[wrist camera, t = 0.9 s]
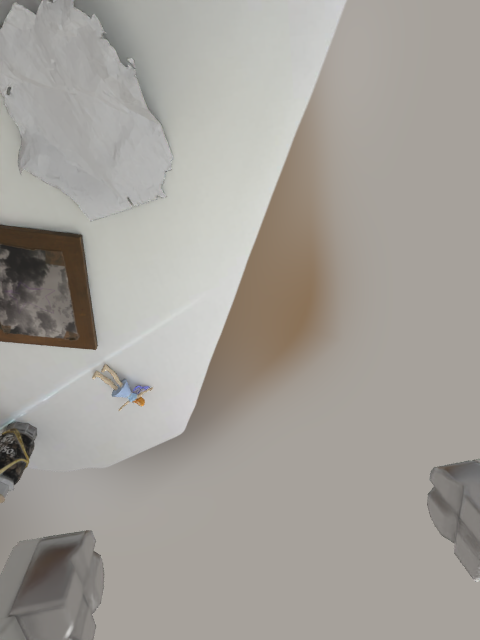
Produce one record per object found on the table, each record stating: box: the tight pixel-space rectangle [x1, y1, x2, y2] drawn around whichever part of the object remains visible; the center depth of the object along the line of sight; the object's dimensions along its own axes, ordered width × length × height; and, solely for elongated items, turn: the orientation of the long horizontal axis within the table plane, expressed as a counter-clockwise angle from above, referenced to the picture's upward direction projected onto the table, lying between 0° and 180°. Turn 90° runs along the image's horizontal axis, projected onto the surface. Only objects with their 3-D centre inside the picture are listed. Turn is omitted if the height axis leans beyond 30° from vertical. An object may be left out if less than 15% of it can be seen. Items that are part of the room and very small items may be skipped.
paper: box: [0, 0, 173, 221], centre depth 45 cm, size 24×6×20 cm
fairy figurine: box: [92, 364, 153, 411], centre depth 77 cm, size 12×5×12 cm
